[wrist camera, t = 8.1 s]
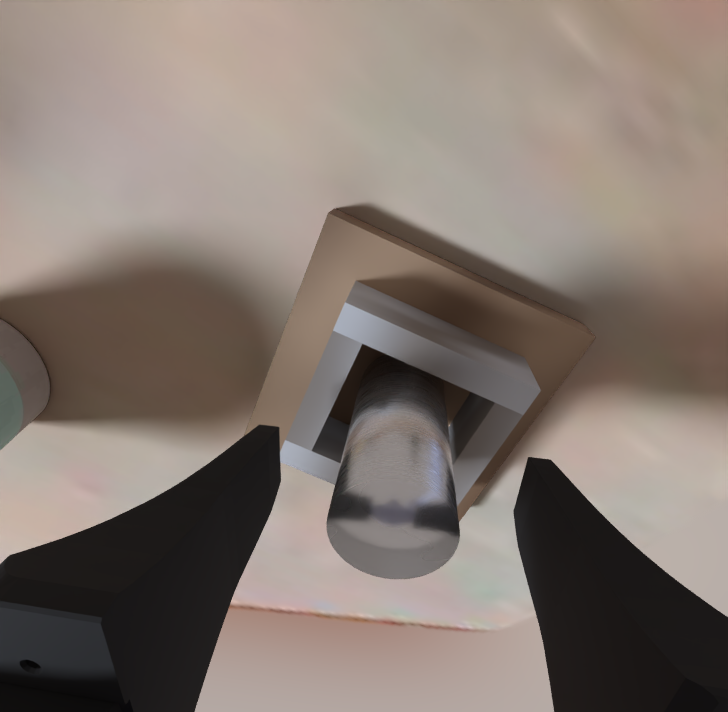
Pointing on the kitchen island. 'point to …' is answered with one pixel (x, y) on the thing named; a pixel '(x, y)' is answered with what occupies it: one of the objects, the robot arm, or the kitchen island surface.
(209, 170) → the kitchen island surface
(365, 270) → the block
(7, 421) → the coffee cup
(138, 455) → the kitchen island surface
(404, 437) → the shaft
